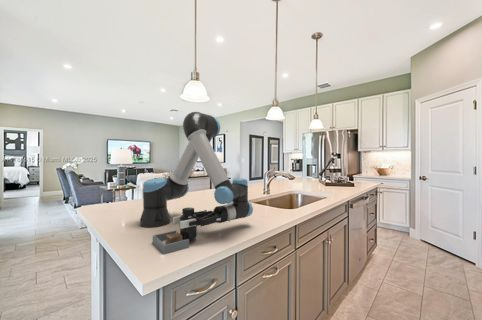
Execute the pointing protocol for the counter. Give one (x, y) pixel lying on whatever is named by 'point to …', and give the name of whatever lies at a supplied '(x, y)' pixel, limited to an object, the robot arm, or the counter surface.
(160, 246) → the grey u-shaped bracket
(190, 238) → the supplement bottle
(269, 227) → the counter surface
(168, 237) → the brown wooden block
